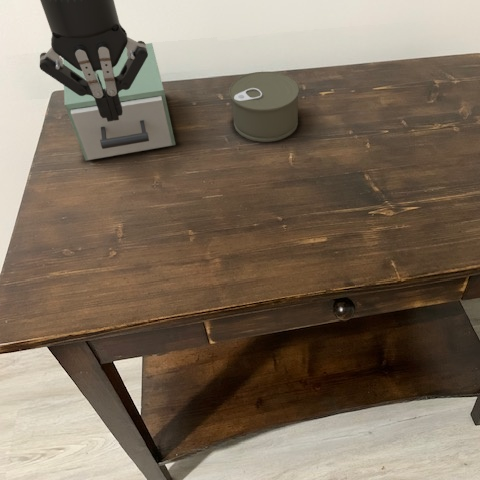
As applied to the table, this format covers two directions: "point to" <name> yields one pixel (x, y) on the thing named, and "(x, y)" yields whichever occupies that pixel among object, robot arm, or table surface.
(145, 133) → the drawer
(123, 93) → the mint green cabinet box
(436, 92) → the table surface
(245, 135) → the can
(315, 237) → the table surface
